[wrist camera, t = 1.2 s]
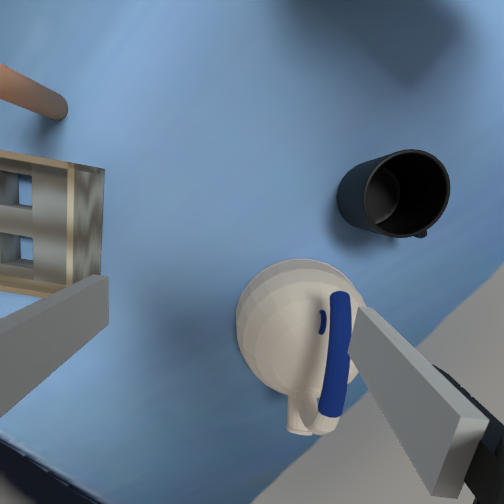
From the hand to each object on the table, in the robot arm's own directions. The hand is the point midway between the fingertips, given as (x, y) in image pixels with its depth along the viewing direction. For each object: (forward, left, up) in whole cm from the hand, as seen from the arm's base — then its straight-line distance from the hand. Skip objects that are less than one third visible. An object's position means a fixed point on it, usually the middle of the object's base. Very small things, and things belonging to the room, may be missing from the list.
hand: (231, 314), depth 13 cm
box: (+3, -32, -25) cm, 40 cm away
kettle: (+12, +10, -25) cm, 29 cm away
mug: (-8, +17, -25) cm, 32 cm away
